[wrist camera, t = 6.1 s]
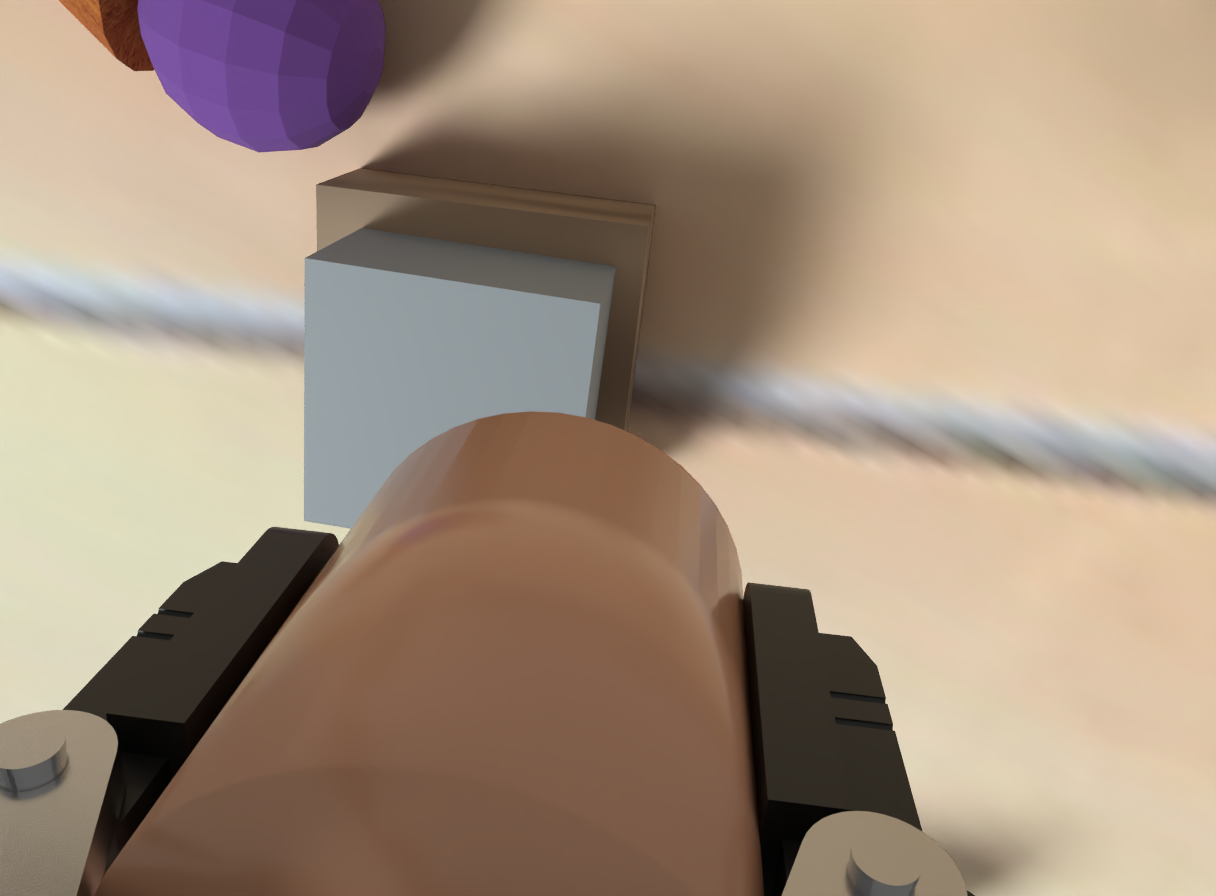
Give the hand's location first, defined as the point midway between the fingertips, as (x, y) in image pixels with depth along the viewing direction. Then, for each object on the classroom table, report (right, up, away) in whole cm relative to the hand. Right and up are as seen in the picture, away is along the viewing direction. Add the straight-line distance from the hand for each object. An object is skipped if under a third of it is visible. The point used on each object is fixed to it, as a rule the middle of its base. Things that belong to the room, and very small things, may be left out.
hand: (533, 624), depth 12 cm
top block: (-3, +4, +16) cm, 16 cm away
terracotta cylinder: (0, 0, +1) cm, 1 cm away
